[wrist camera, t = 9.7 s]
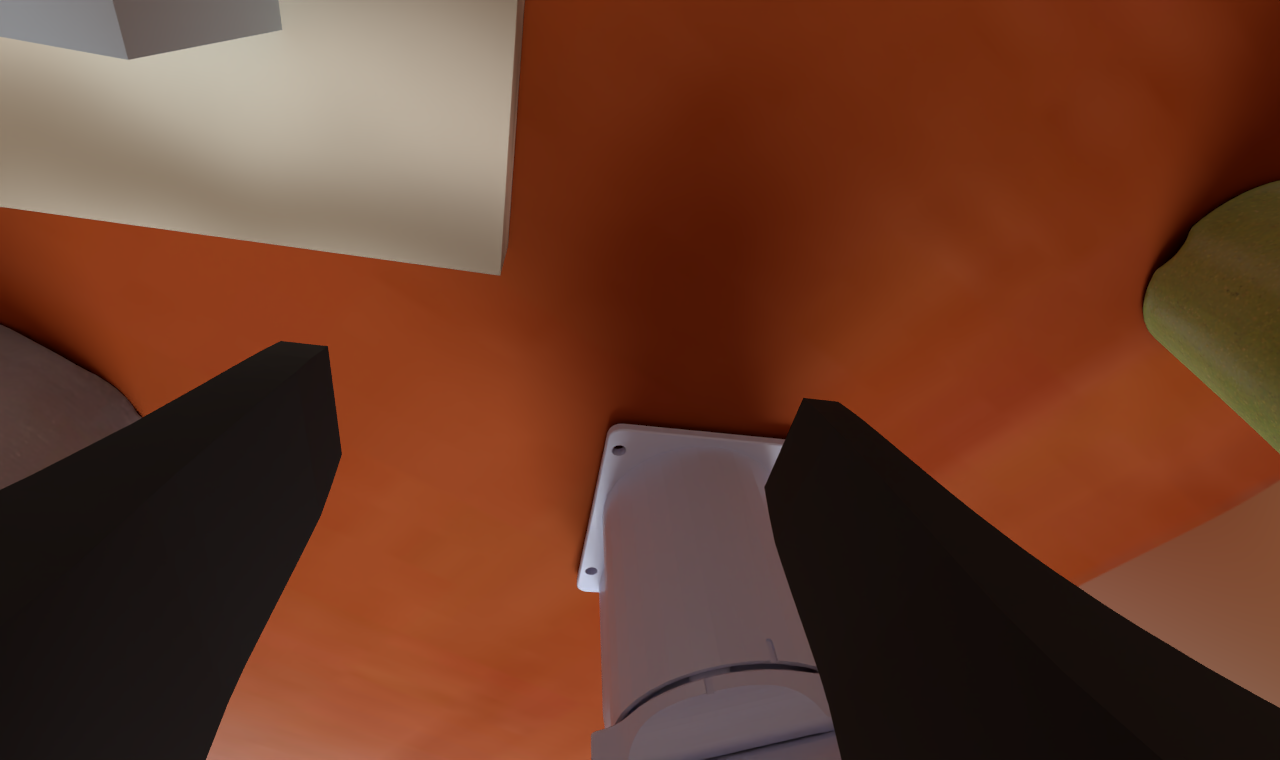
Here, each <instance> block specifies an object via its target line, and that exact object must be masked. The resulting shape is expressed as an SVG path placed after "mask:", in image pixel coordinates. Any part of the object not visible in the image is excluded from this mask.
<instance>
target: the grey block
mask: <svg viewBox="0 0 1280 760" xmlns="http://www.w3.org/2000/svg"><path fill="white" fill-rule="evenodd" d="M279 30H282V24H281V16H280V9H279V1H278V0H0V37H5V38H10V39H16V40H21V41H27V42H32V43H38V44H43V45H49V46H54V47H60V48H65V49H71V50H76V51H82V52H87V53H93V54H99V55H104V56H110V57H115V58H121V59H126V60H130V59H136V58H141V57H146V56H151V55H156V54H161V53H166V52H172V51H177V50H182V49H187V48H192V47H197V46H202V45H208V44H213V43H218V42H223V41H228V40H233V39H238V38H243V37H249V36H254V35H259V34H264V33H269V32H274V31H279Z"/></svg>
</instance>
